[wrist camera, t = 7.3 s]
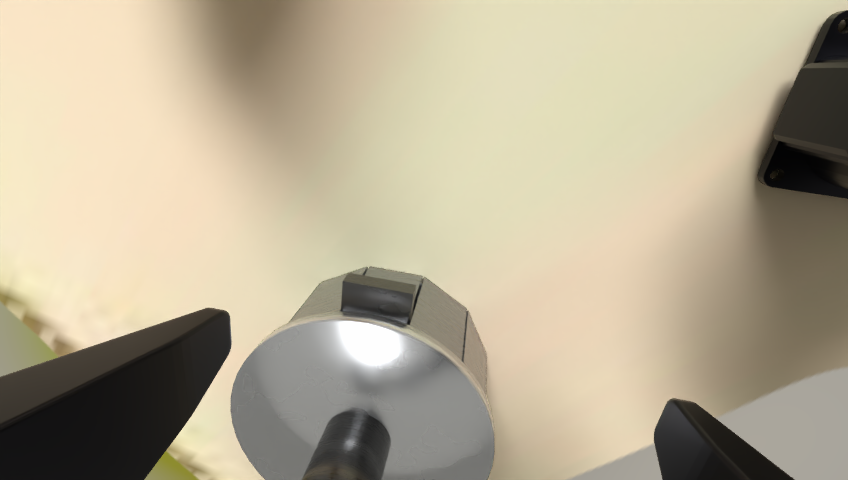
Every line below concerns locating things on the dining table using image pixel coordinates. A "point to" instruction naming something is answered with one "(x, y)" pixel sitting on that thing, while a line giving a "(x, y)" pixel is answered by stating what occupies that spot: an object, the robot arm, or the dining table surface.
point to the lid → (360, 404)
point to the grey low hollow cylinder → (403, 309)
